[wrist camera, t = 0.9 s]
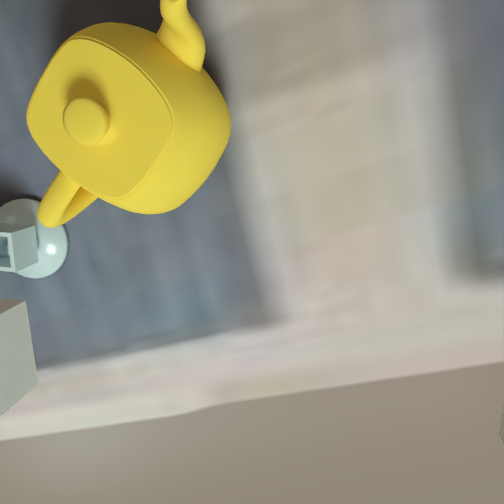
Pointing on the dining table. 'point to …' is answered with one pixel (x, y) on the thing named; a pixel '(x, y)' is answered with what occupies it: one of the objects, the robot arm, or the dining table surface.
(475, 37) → the dining table surface
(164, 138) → the teapot
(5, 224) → the egg cup
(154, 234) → the dining table surface
